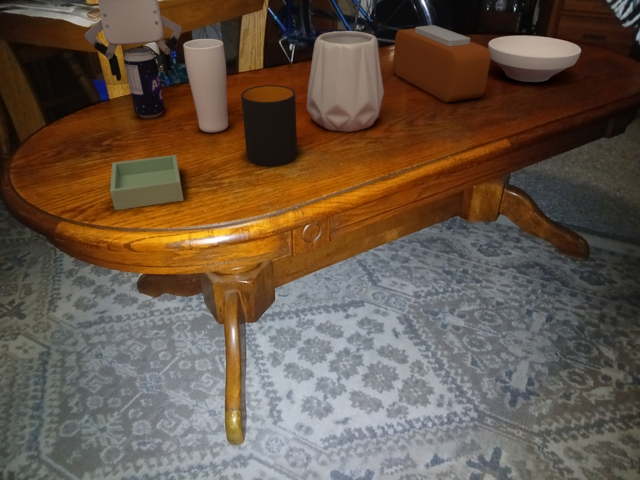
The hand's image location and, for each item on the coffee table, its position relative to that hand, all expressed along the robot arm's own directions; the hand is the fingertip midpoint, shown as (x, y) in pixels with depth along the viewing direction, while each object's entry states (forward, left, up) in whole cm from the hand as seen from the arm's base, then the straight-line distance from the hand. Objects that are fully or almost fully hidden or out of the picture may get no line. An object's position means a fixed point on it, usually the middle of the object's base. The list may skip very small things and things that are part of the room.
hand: (143, 76), depth 96 cm
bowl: (+84, -2, -8) cm, 84 cm away
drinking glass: (+11, -11, -8) cm, 17 cm away
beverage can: (0, 0, -8) cm, 8 cm away
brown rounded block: (+61, -1, -8) cm, 61 cm away
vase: (+35, -15, -8) cm, 39 cm away
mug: (+18, -24, -8) cm, 31 cm away
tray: (-1, -32, -7) cm, 33 cm away
